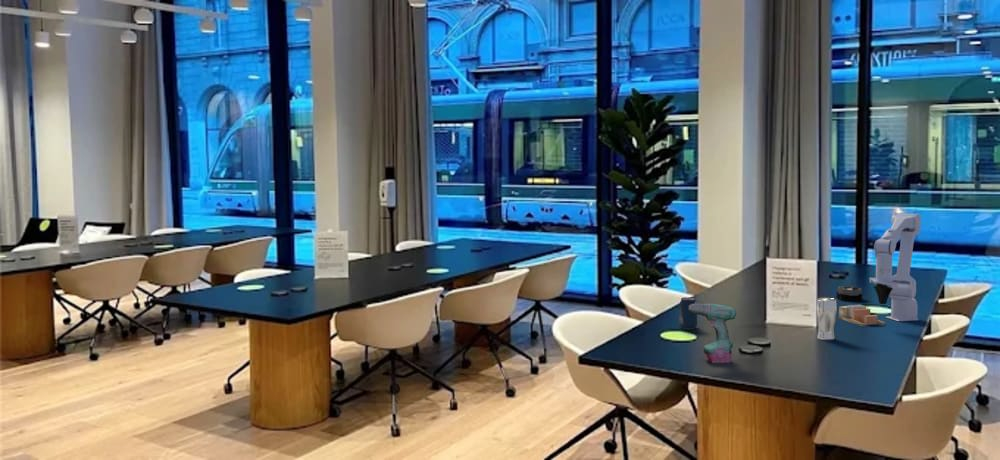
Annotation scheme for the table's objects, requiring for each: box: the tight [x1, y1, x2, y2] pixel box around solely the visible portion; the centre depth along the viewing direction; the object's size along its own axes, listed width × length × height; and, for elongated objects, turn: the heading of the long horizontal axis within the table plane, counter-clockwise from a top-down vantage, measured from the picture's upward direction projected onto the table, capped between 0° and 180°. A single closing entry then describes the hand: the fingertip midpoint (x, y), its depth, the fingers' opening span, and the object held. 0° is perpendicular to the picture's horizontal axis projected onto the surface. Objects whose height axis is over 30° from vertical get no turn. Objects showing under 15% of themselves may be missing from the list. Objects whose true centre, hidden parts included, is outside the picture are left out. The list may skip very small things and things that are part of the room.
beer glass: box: [816, 297, 838, 341], centre depth 301 cm, size 7×7×15 cm
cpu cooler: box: [836, 285, 863, 302], centre depth 375 cm, size 10×6×10 cm
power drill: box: [689, 303, 737, 364], centre depth 273 cm, size 7×16×20 cm, turn 95°
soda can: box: [679, 296, 698, 330], centre depth 322 cm, size 7×7×12 cm
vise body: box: [838, 305, 886, 327], centre depth 328 cm, size 10×15×5 cm
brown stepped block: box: [852, 307, 879, 326], centre depth 326 cm, size 7×8×5 cm
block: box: [846, 304, 867, 319], centre depth 331 cm, size 6×4×6 cm, turn 101°
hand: (882, 303), depth 315 cm, fingers closed
